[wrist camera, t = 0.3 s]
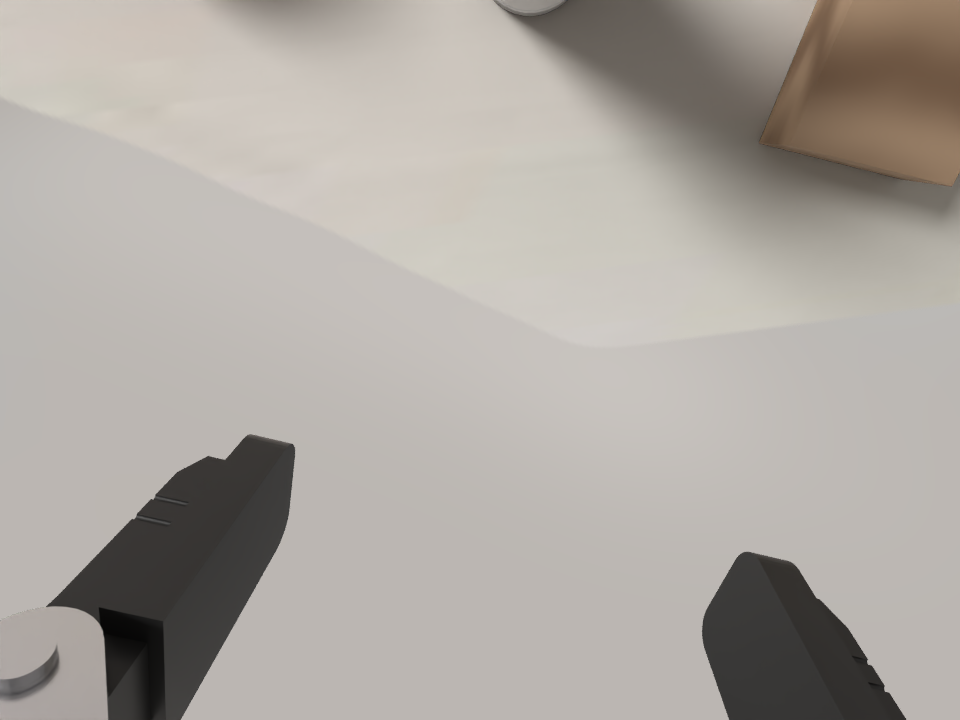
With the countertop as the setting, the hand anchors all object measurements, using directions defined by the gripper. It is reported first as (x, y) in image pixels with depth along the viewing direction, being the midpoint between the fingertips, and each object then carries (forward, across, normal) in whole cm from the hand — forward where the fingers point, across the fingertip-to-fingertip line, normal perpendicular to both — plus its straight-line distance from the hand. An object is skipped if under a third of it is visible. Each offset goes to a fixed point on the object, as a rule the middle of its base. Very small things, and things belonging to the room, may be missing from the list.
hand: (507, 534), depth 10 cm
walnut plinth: (+28, -17, -13) cm, 35 cm away
